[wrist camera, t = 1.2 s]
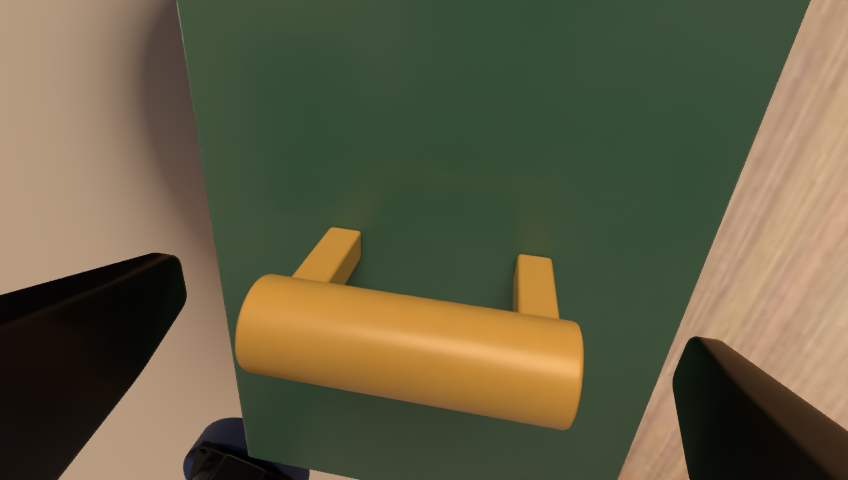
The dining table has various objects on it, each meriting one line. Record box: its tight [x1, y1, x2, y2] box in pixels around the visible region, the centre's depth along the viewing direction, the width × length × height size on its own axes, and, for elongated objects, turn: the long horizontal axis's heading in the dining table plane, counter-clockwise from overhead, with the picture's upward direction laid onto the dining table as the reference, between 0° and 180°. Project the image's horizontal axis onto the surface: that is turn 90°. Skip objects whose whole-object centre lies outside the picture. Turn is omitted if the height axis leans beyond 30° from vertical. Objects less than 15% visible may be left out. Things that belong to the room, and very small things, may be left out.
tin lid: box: [176, 0, 811, 480], centre depth 9 cm, size 15×10×4 cm
